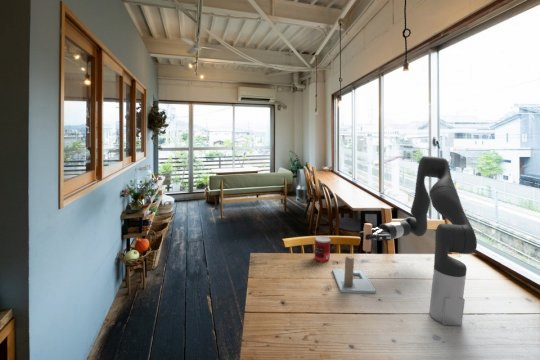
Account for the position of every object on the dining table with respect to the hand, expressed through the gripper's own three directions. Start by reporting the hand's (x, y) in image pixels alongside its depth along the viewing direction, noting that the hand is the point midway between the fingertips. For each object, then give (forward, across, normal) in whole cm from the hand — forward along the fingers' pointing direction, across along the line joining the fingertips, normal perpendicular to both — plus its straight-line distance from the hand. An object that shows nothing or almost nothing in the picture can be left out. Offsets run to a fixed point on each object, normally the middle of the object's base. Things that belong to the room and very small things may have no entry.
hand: (362, 236), depth 122 cm
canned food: (+5, -22, +19) cm, 30 cm away
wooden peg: (-3, 0, +7) cm, 8 cm away
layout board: (+7, +2, +19) cm, 20 cm away
